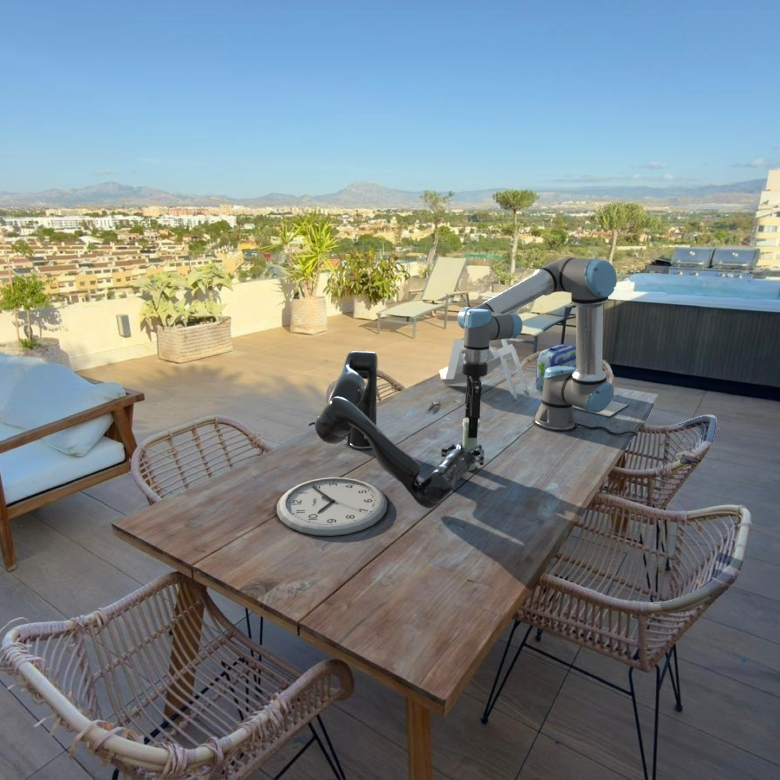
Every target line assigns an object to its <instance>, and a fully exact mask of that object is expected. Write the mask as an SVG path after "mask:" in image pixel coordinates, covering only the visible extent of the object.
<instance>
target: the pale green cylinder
mask: <svg viewBox="0 0 780 780" xmlns="http://www.w3.org/2000/svg"><path fill="white" fill-rule="evenodd" d="M462 430H463V431H462V433H463V434H462V442H463V444H462V450H465V451H466V450H467V451H468V450H470V449H475V448H476V447H477V445H478V434H479V429H478V430H477V438H468V428H465V427H463V429H462ZM476 463H477V462H475V463H474V464H471V466H470V468H469V469H468V470H467V472H468V471H475V470H476Z"/></svg>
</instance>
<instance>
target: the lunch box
mask: <svg viewBox="0 0 780 780" xmlns="http://www.w3.org/2000/svg"><path fill="white" fill-rule="evenodd" d="M555 366H570V367H575V368H576V346H572V345H566V344H559V345H555V346H552V347H549V348H547V349H544V350H542V351H541V352H540V353H539V355H538V357H537V362H536V374H535V389H536V390H537V391H541V392H542V391H543V380H544V379H543V378H544V375H545V370H546V369H547V368H549V367H555Z"/></svg>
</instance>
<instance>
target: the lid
mask: <svg viewBox="0 0 780 780" xmlns="http://www.w3.org/2000/svg"><path fill="white" fill-rule="evenodd" d="M480 424H481V420H480V418H479V419H478V429H479V428H480ZM468 425H469V418H465V417H464V418H463V419H462V427H463V428H464V427H465V428H468Z"/></svg>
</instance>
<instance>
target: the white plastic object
mask: <svg viewBox="0 0 780 780" xmlns="http://www.w3.org/2000/svg"><path fill="white" fill-rule="evenodd" d="M507 340H508V339H500V342H501V345H502V347H500V348H498V349H496V350H495V349H493V348H492V347H491V346H490V344H489V358H488V361H487V363H488V369H487V375H489V374H490V373H492V372H494V371H495V370H496V369H497V368H499V367H500V366H502V370H503V373H504V376H505V380H506V383H507V386H508V390H509V393H510V394H511V395H512V397H513V398H514V399H515V400H517V392H516V391H517V390H516V388H515V385H514V381H513V378H512V375H511V371H510V369H509V365H508V361H510V360H513V363H514V366H515V369H516V372H517V376H518V380H519V382H520V385H521V389H522V391H523V393H524V395H525V396H526V397H528V396H531V395H530V390H529V388H528V387H529V386H528V384H527V381H526V378H525V375H524V371H523V369H522V368H523V367H522V366H521V362H520V359H519V355H518V352H517V349H516V347H515V346H514V345H513V343H511V344H508V341H507ZM462 350H464V338H460V339H458V338H454V340H453V344H452V349H451V353H450V357H449V362H448V366H446V367H444V368H442V369H440V370H439V371H438V372H439V376H440V381H442V383H443V384H444V385H445V386H449V385H458V384H467V376H466V375H464V374H463V373H462V365H463V362H464V360H463V353H461V351H462ZM487 375H485V376H481V377H480V378H479V379H480V381H481V382H482V381H484V378H485V377H486V376H487Z"/></svg>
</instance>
